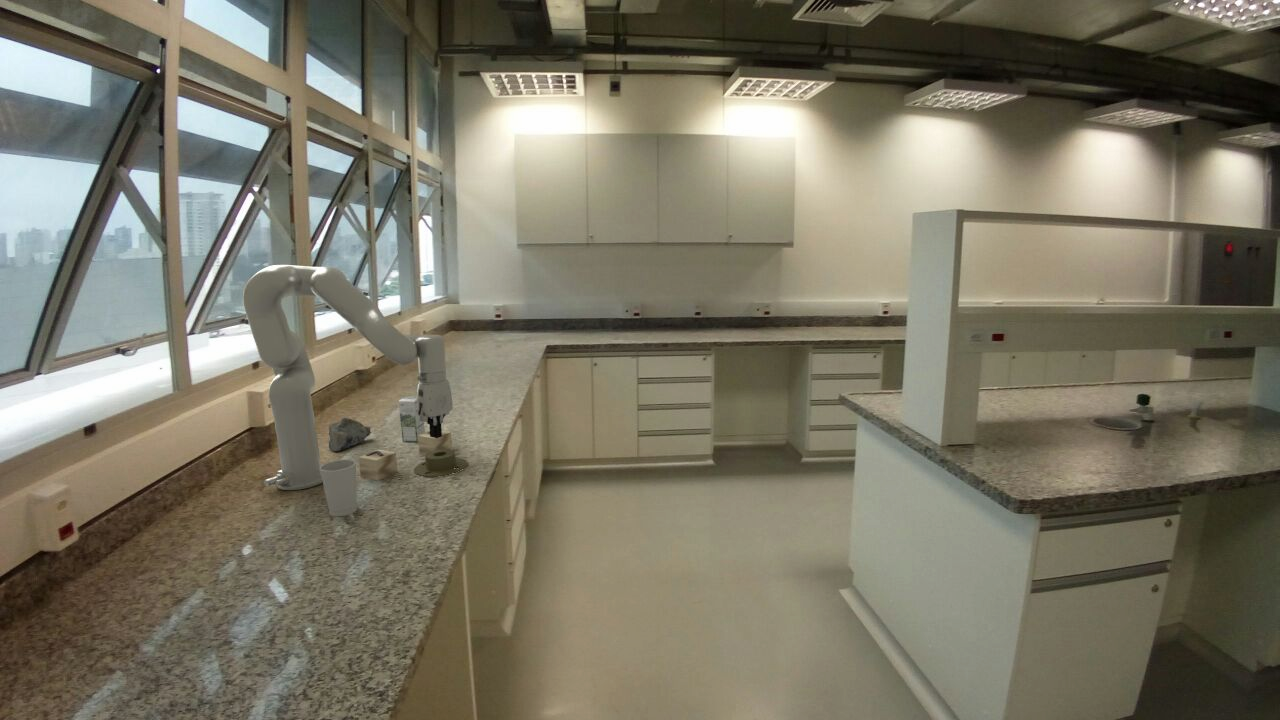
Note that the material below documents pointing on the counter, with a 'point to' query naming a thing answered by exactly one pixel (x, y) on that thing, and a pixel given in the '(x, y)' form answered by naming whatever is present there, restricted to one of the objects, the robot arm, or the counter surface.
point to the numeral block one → (434, 442)
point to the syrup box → (410, 419)
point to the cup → (340, 486)
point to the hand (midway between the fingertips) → (435, 436)
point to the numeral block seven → (378, 464)
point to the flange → (440, 463)
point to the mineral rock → (346, 434)
